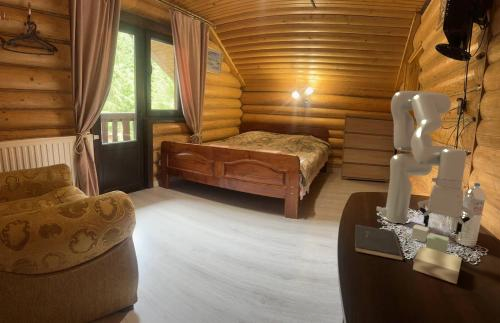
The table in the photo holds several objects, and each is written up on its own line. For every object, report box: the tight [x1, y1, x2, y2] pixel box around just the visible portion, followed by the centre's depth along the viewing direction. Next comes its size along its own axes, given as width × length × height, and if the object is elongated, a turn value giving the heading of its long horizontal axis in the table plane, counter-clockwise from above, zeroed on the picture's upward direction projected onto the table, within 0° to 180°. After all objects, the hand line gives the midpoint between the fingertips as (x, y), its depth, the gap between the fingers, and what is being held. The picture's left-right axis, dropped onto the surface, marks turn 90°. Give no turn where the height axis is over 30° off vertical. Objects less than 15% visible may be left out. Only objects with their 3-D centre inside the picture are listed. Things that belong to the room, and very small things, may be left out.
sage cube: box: [425, 232, 450, 253], centre depth 112 cm, size 6×6×6 cm
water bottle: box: [455, 182, 487, 248], centre depth 120 cm, size 7×7×25 cm
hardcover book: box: [354, 224, 404, 261], centre depth 118 cm, size 16×23×2 cm
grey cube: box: [410, 224, 430, 243], centre depth 124 cm, size 5×5×5 cm
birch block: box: [412, 245, 463, 285], centre depth 100 cm, size 12×12×4 cm
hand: (441, 229), depth 110 cm, fingers open, 9 cm apart
